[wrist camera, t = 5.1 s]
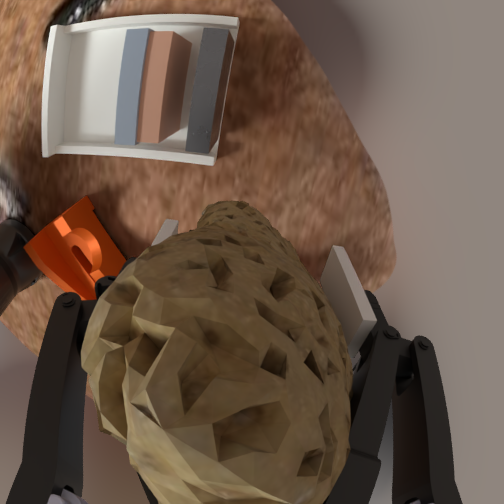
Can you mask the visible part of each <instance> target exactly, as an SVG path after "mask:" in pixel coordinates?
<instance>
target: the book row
mask: <svg viewBox="0 0 504 504" xmlns="http://www.w3.org/2000/svg"><path fill="white" fill-rule="evenodd" d="M191 47H192V43H191V42H189V41H188V40H186V39H185V38H183V37H182V36H180V35H179V34H177V33H175V32H174V31H154V30H152V29H150V28H140V29H127V31H126V37H125V43H124V49H123V55H122V62H121V69H120V77H119V86H118V96H117V107H116V122H115V142H114V144H118V145H137V144H138V143H140V142H145V143H160V142H161V141H163V140H164V139H166V138H168V137H169V136H171V135H172V134H174V133H176V132H177V131H179V130H180V121H181V113H182V105H183V98H184V91H185V84H186V77H187V71H188V65H189V59H190V53H191Z"/></svg>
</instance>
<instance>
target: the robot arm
mask: <svg viewBox="0 0 504 504" xmlns="http://www.w3.org/2000/svg"><path fill="white" fill-rule="evenodd" d="M176 234H178V221H177V220H170V219H166V220H165V222H164V224H163V225H162V227H161V229H160V231H159V232H158V234H157V236H156V238H155V239H154V241H153V243H152V245H151V246H153V245H156V244H159V243H161V242H162V241H164V240H165V239H167V238H168V237H169V236H172V235H176ZM33 237H34V235H33V234H32V233H31V231H30V230H29V229H28V228H27V227H26V226H24V225H23V224H22V223H20V222H18V221H16V220H12V219H8V220H5V221H3V222H2V223H1V224H0V316H1V315H2V313H3V312H4V311H5V309H6V308H7V306H8V305H9V304H10V302H11V301H12V300H13V298H14V297H15V296H16V295H17V293H19V292H21V291H23V290H24V289H26V288H28V287H30V286H32V285H34V284H35V283H36V282H37V281H38V280H39V279H40V278H41V276H42V275H43V272H42V271H41V270H39V269H38V267H37V266H36V265H35V263H34V262H33V261H32V259H31V258H30V256H29V255H28V253H27V252H26V251H25V249H24V248H23V247H24V246H25V245H26V244H27V243H28V242H29V241H30V240H31V239H32V238H33ZM136 259H137V258H134V257H132V258H130V259H129V260H127V261H126V262H125V263H124V265H123V267H122V269H121V270H120V272H119V274H120V273H121V272H122V271H123V270H124V269H125V267H126V266H127V265H128V264H130V263H132V262H133V261H135V260H136ZM119 274H118V275H119ZM118 275H117V277H118ZM117 277H116V276H104V277H101V278H100V279H98V280H97V281H96V283H95V286H94V288H95V293H96V298H97V299H95V300H81V297H80V296H79V295H78V294H77V293H75V292H65V293H63V294H61V295H60V296H58V297H57V299H56V301H55V303H54V306H53V309H52V312H51V315H50V318H49V322H48V325H47V328H46V332H45V335H44V338H43V342H42V346H41V349H40V353H39V357H38V361H37V365H36V370H35V374H34V379H33V384H32V389H31V394H30V399H29V405H28V411H27V419H26V426H25V434H24V445H23V458H22V463H21V465H20V468H19V470H18V473H17V475H16V478H15V480H14V483H13V485H12V488H11V490H10V493H9V496H8V499H7V501H6V504H88V503H87V502H86V501H85V500H84V499H82V498H81V497H82V489H83V421H84V405H85V392H86V382H87V372H86V371H85V370H84V369H83V368H82V364H81V349H82V345H83V341H84V337H85V333H86V330H87V326H88V322H89V319H90V317H91V315H92V313H93V310H94V308H95V306H96V304H97V302H98V299H99V298H100V296H101V295H102V294H103V293H104V292H105V291H106V290H107V288H108V287H109V286H110V285H111V284H112V283H113V282H114V281H115V279H116V278H117ZM320 282H321V286H322V289H323V292H324V293H325V295H326V297H327V298H328V300H329V302H330V304H331V306H332V308H333V311H334V313H335V315H336V317H337V318H338V320H339V322H340V323H341V326H342V331H343V334H344V337H345V340H346V343H347V347H348V353H349V356H350V358H355V356H356V354H357V353H358V351H359V352H360V355H361V357H360V359H359V360H358V362H357V363H356V365H355V367H354V368H353V369H352V370H353V371H354V370H355V372H354V375H353V383H352V389H353V397H352V399H351V401H350V418H351V426H350V432H349V438H348V440H349V445H350V452H349V455H348V458H347V461H346V463H345V466H344V468H343V470H342V472H341V473H340V475H339V477H338V479H337V481H336V483H335V485H334V487H333V488H332V490H331V492H330V494H329V496H328V497H327V498H326V500H325V501H324V502H323V504H368V503H369V501H370V498H371V495H372V492H373V489H374V486H375V483H376V480H377V477H378V474H379V471H380V467H381V460H380V459H378V457H377V456H378V452H379V448H380V444H381V441H382V437H383V433H384V429H385V425H386V421H387V417H388V412H389V407H390V402H391V398H392V409H393V483H392V504H462V501H461V498H460V495H459V492H458V489H457V486H456V483H455V480H454V464H453V452H452V442H451V433H450V426H449V419H448V412H447V407H446V401H445V396H444V390H443V385H442V381H441V376H440V371H439V367H438V362H437V358H436V354H435V350H434V347H433V344H432V343H431V341H430V340H429V339H427V338H426V337H424V336H416V337H415V338H414V340H413V341H410V340H406V339H403V338H401V336H400V333H399V332H398V331H397V330H396V329H395V328H393V327H392V326H389V325H388V323H387V321H386V319H385V317H384V314H383V312H382V310H381V308H380V305H379V304H378V301H377V299H376V297H375V296H374V295H373V294H372V293H371V292H370V291H368V290H364V289H363V287H362V285H361V283H360V281H359V279H358V276H357V274H356V272H355V270H354V268H353V266H352V264H351V261H350V259H349V257H348V255H347V253H346V251H345V249H344V247H341V246H335V245H332V248H331V251H330V254H329V256H328V259H327V262H326V265H325V267H324V270H323V273H322V275H321V278H320ZM137 473H138V472H137ZM138 476H139V479H140V481H141V483H142V486H143V488H144V491H145V493H146V495H147V498H148V500H149V502H150V504H159V503H158V500H157V498H156V497H155V496H154V494H153V493H152V491H151V490H150V489H149V487H148V486H147V484H146V483H145V481H144V480H143V479H142V477H141V475H140V474H139V473H138Z"/></svg>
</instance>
